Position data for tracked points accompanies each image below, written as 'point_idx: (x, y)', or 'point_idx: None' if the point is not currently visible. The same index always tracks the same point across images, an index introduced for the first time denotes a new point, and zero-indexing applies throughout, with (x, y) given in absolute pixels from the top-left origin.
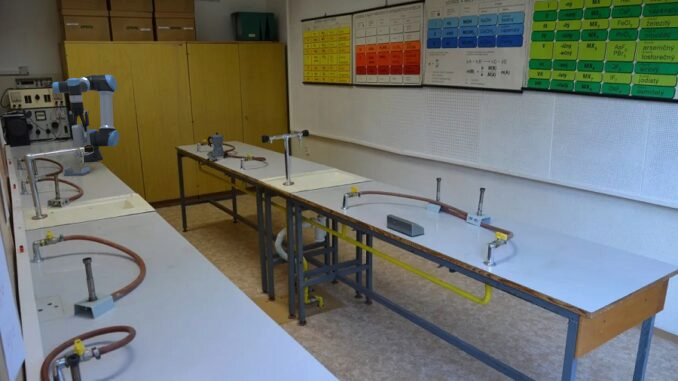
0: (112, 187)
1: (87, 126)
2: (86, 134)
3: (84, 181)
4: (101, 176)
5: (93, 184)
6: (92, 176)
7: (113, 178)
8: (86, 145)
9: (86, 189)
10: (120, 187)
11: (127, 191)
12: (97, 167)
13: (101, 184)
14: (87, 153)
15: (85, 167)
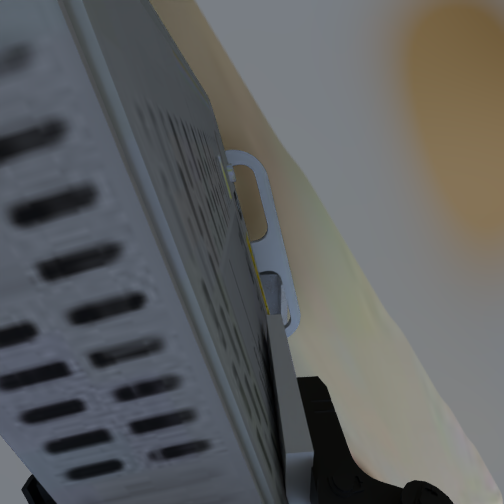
0: (447, 460)
1: (128, 31)
2: (233, 242)
3: (334, 405)
4: (366, 343)
5: (380, 435)
6: (329, 341)
7: (423, 372)
8: (252, 260)
9: (381, 475)
10: (470, 461)
11: (494, 488)
12: (255, 138)
13: (405, 435)
14: (267, 269)
15: (286, 320)
